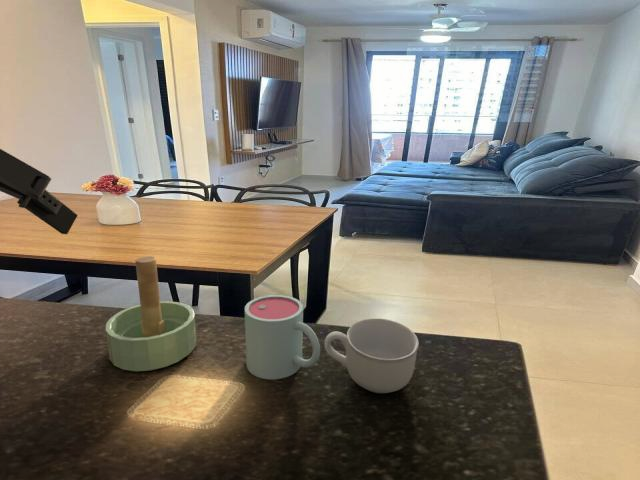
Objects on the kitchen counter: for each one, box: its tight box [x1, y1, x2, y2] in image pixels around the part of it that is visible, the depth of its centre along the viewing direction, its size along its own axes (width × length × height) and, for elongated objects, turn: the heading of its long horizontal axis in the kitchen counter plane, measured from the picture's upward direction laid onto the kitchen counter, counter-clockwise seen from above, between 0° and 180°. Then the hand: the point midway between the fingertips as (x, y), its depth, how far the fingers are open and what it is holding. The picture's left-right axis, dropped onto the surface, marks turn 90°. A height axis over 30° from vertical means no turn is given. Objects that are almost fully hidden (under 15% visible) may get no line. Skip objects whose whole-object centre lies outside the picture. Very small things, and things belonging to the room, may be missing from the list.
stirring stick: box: [134, 255, 165, 337], centre depth 63 cm, size 4×3×16 cm
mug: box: [244, 294, 321, 380], centre depth 61 cm, size 14×9×10 cm
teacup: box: [324, 317, 420, 394], centre depth 59 cm, size 14×11×8 cm
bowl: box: [105, 300, 197, 372], centre depth 65 cm, size 14×14×6 cm
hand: (23, 220), depth 47 cm, fingers open, 13 cm apart
